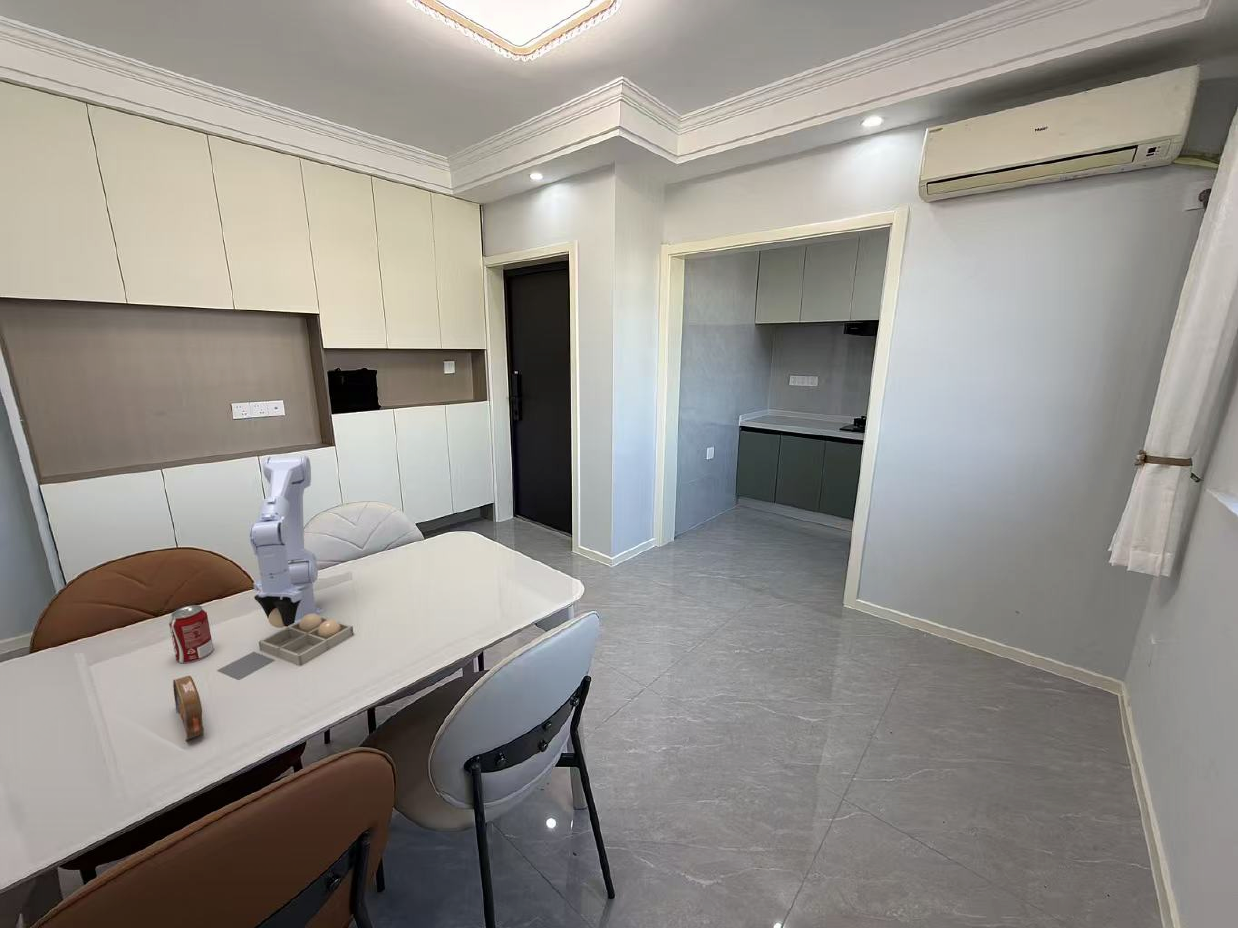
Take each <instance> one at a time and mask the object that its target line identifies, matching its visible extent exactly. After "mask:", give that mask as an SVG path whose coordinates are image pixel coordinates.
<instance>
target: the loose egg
mask: <svg viewBox="0 0 1238 928" xmlns="http://www.w3.org/2000/svg"><path fill="white" fill-rule="evenodd" d="M268 622H269V624H270V625H271V626H272V627H274V628H276V629H277V628H279V629H280V628H284V627H285V626H284V624H283V622H282V618H281V615H280V612H279V610H278V609H277V608H275V609H273V610H272V611H271V613H270V615H269V619H268ZM285 628H286V627H285Z"/></svg>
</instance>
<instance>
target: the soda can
mask: <svg viewBox="0 0 1238 928" xmlns="http://www.w3.org/2000/svg"><path fill="white" fill-rule="evenodd" d="M170 617H171V618H170V620H169V621H168V626H169V632H170V635H171V636H170V637H171V640H172V644H173V645H172V646H173V651H174V655H175V661H176V662H177V663H179V664H189V663H190V664H191V663H195V662H198V661H201V660H203V659H205V658H206V657H209V656H210V655H211V654H212V653H213V651H214V646H213V645H214V644H213V639H212V635H211V628H210V623H209V618H208V613H207V611H205V610H204V609H203V606H201V605H199V604H197V605H196V604H195V605H188V606H183V607H181V608H178V609H176V610H175V611H173V612H172V613H171V616H170Z"/></svg>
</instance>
